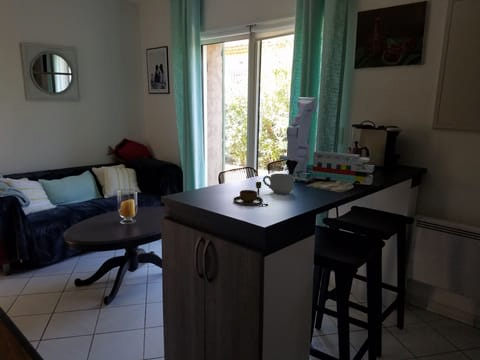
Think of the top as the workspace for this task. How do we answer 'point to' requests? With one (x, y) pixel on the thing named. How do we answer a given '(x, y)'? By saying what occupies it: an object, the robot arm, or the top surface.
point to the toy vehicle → (341, 168)
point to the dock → (333, 186)
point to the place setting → (250, 197)
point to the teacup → (280, 183)
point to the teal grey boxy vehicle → (303, 177)
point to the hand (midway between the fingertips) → (291, 174)
